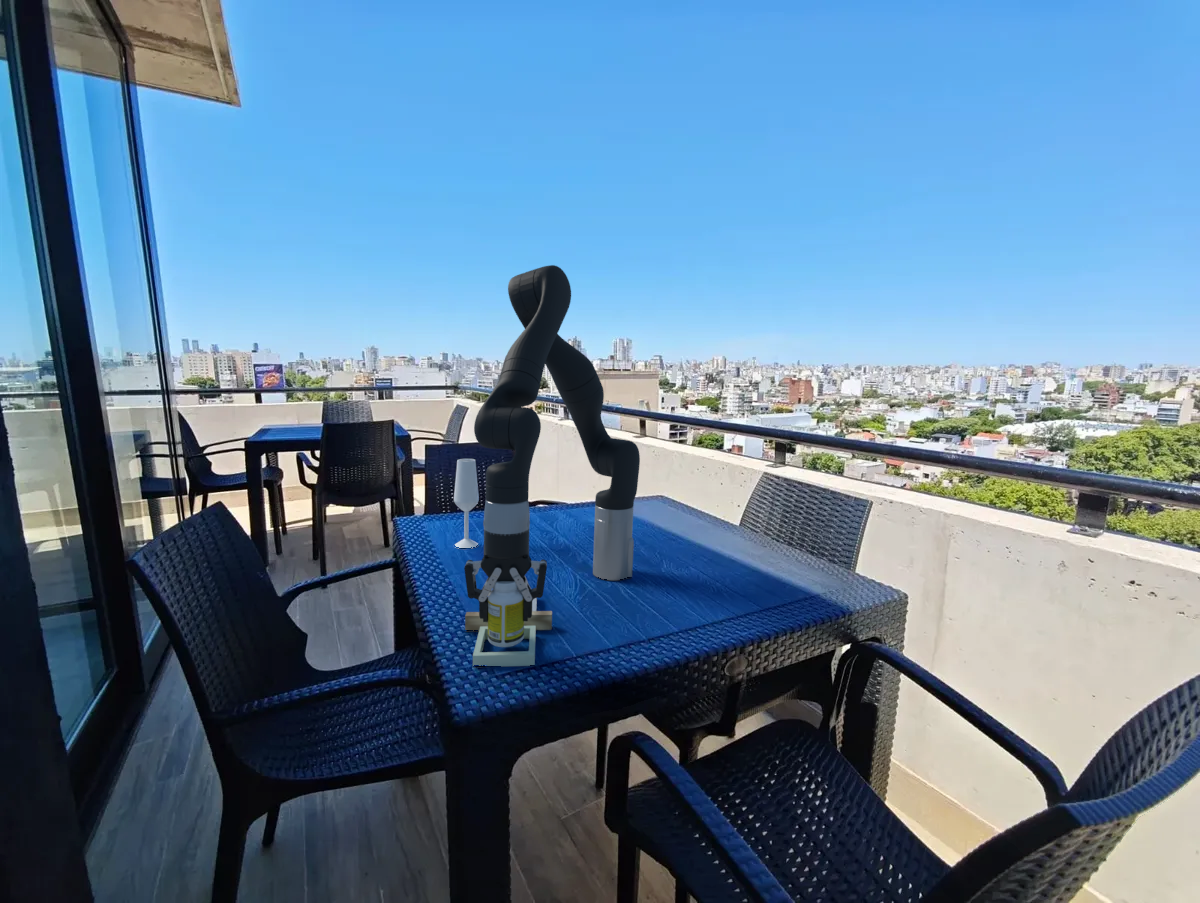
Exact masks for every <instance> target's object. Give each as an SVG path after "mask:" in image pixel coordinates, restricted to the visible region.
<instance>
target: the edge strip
mask: <svg viewBox="0 0 1200 903" xmlns="http://www.w3.org/2000/svg"><path fill="white" fill-rule="evenodd" d="M464 617H465V618H464V620H465V621H464V623H465V624H464V626H465V628H464V630H473V631H472V632H475V631H474V630H478V631H477V632H479V630H480V626H488V622H483V619H480V617H479V611H466V612H465V615H464ZM524 626H536V631H551V630H552V629H553V611H552V610H536V611H532V616H531V618H528V621H524Z"/></svg>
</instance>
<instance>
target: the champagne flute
mask: <svg viewBox="0 0 1200 903" xmlns="http://www.w3.org/2000/svg"><path fill="white" fill-rule="evenodd" d="M476 463H477V462H476V459H474V458H460V459H457V461H456V469H455V481H454V494H453V502H454V504H455V505H456V506H457V507H458V508H459V510H461V511H463V516H464V517H463V520H464V521H463V522H464V524H463V525H464V528H463V529H464V530H463V534H464V537H463V538H462V539H461V540H459V541H458V542H456V543H455V544H454V545H455V546H456V547H459V548H471V547H472V548H471V549H474V548H473V547H475V548H477V547H478V546H479V545H478V544H479V543H478V542H476V541H475V540H472V539H471V538H470V537H469V536H470V532H469V529H470V528H469V525H470V523H469V521H470V520H469V518H470V517H469V514H470V513H469V512H470V511H472V510H473V509H474V508H475V507H476V506H477V504H478V503H479V500H480V498H479V496H480V495H479V487H478V476H477V475H478V474H477V464H476ZM477 545H478V546H477ZM476 546H477V547H476ZM456 547H455V548H456ZM459 548H458V549H459Z"/></svg>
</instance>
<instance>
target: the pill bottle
mask: <svg viewBox="0 0 1200 903" xmlns="http://www.w3.org/2000/svg"><path fill="white" fill-rule="evenodd" d="M487 597H488V639H487V640H488V642H489V644H490V645H492V646H493V647H494V646H495V647H497V648H498V647H499V648H511V647H514V646H517V645H519V644H520V643H521V642H522V641H523V637H524V596H523V594H522V592H521V591H520V590H519V588H518V586H517V584H516V582H515V581H496V583H495V584H494V586H493V588H492V590H491V591H490V593H489V595H488V596H487Z"/></svg>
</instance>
